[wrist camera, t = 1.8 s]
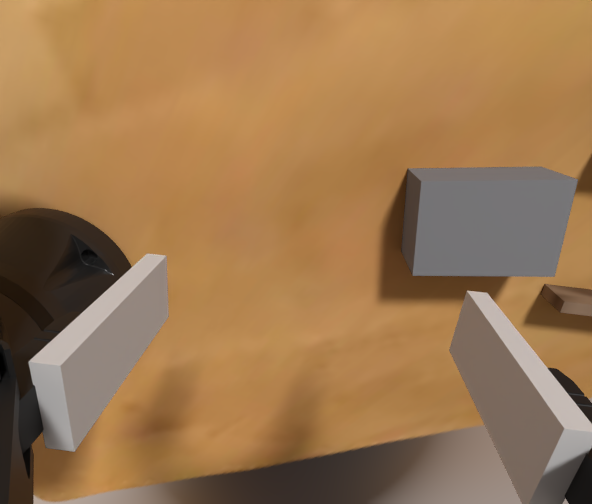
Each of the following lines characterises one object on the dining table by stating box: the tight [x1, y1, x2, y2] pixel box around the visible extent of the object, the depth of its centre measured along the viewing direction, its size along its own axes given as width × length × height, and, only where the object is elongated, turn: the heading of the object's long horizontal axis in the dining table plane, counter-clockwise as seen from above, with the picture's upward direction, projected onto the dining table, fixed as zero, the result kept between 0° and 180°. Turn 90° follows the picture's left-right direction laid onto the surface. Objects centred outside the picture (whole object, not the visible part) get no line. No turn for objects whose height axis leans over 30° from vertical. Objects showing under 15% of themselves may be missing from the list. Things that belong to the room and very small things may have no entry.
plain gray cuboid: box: [401, 167, 578, 277], centre depth 30 cm, size 10×7×5 cm
